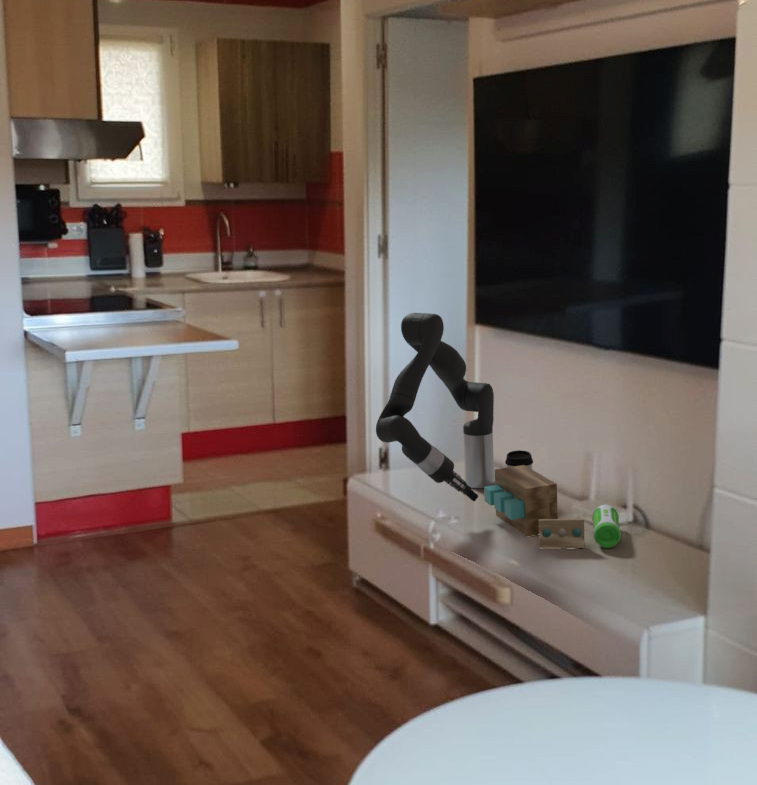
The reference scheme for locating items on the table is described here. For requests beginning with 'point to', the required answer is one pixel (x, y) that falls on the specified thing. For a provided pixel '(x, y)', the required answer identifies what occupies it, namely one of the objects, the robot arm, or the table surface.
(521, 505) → the button
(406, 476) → the table surface
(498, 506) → the button middle
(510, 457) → the coffee cup
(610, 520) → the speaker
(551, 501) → the button panel
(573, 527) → the board
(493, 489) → the button
